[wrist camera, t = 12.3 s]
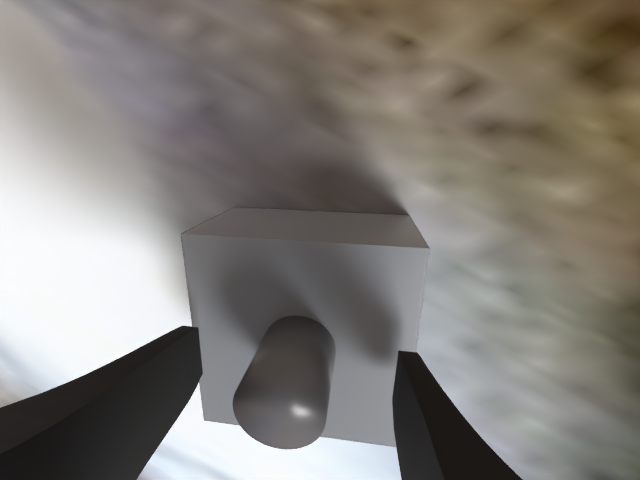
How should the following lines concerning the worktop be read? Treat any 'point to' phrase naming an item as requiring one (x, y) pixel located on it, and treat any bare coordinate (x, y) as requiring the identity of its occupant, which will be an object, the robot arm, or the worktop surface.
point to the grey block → (304, 320)
